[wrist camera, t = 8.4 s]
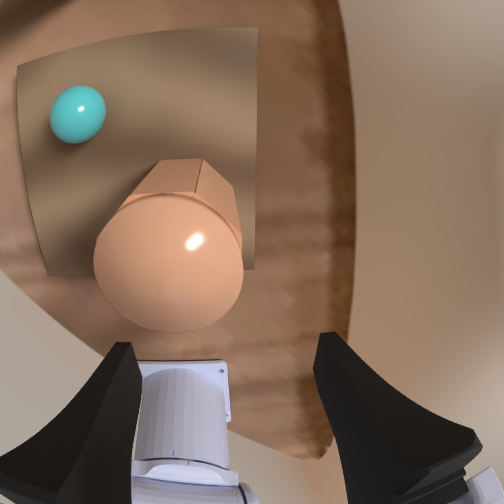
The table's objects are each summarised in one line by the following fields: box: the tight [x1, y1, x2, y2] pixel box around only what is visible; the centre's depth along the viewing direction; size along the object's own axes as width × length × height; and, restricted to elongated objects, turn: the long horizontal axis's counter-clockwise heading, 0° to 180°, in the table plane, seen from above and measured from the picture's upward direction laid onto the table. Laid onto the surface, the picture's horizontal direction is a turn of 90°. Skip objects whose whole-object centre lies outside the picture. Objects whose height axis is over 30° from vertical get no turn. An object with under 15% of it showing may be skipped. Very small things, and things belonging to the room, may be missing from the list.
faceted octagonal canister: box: [93, 159, 243, 333], centre depth 14 cm, size 6×6×7 cm
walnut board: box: [17, 27, 258, 276], centre depth 16 cm, size 14×14×1 cm
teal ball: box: [49, 85, 106, 144], centre depth 12 cm, size 3×3×3 cm
